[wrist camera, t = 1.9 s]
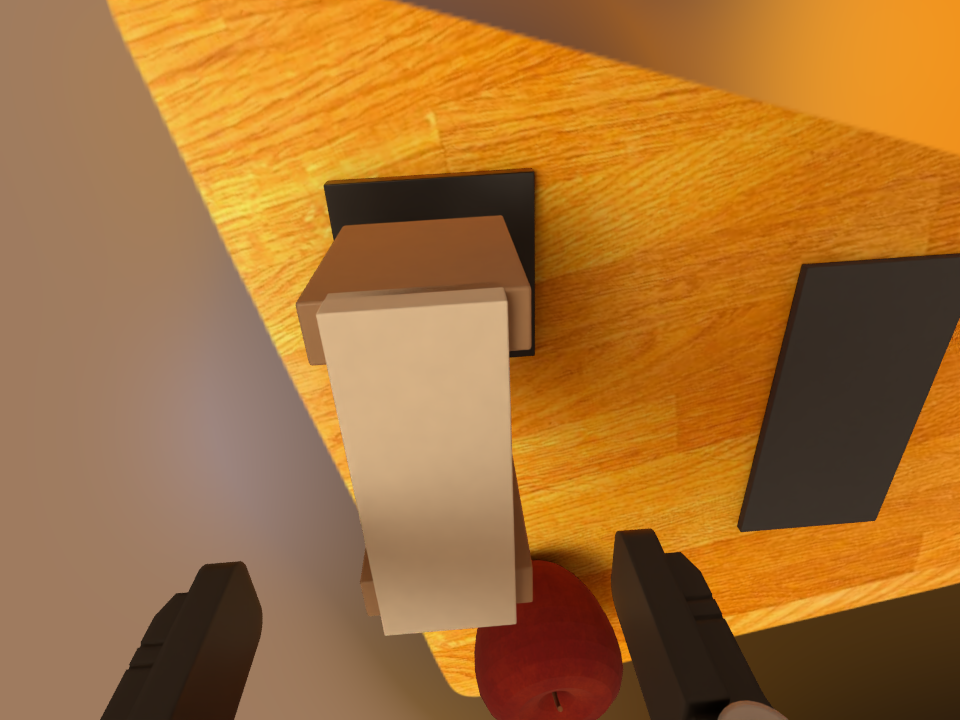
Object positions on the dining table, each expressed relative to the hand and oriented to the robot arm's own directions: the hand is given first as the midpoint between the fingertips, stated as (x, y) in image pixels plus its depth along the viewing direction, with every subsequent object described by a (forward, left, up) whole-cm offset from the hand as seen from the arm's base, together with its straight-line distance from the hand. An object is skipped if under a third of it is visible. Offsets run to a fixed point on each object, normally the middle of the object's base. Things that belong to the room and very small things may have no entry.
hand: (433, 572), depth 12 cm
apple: (+25, +5, -20) cm, 32 cm away
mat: (+11, +25, -19) cm, 34 cm away
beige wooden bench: (0, 0, -10) cm, 10 cm away
